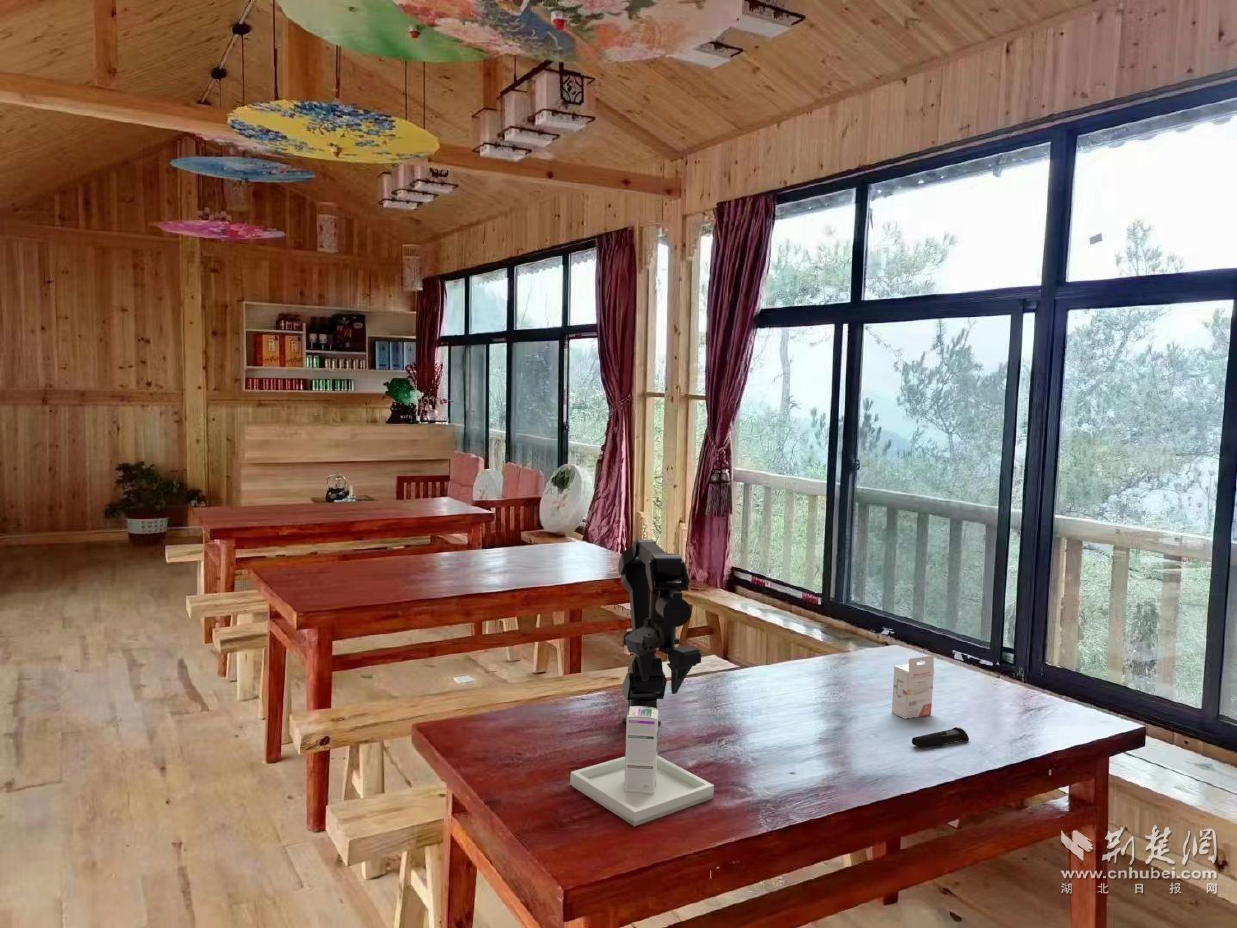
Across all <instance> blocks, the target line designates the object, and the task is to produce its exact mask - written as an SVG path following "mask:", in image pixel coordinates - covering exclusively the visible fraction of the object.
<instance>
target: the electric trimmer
mask: <svg viewBox="0 0 1237 928" xmlns="http://www.w3.org/2000/svg"><path fill="white" fill-rule="evenodd" d="M963 740H964V741H968V740H969V741H970V738H969V735H968V733H967V732H966V730H964V728H962V727H953V728H951V729H947V730H941V731H939V732H938V731H937V732H931V733H928V734H923V735H918V736H914V737H912V739H911V743H912V745H914V746H915V747H917V748H919V749H922V748H923V749H925V748H927V749H928V748H940V747H942V746H943V745H947V744H951V742H953V743H956V742H955V741H958V742H964V741H963ZM969 741H968V742H969ZM946 743H947V744H946Z"/></svg>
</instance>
